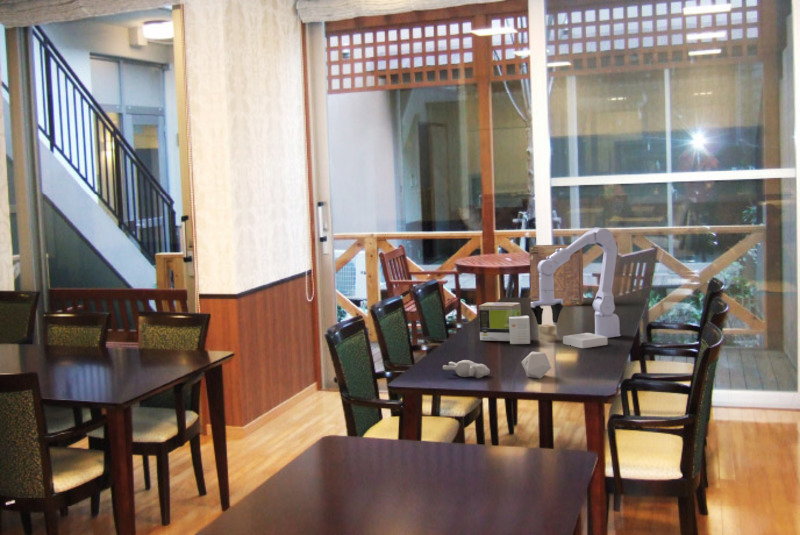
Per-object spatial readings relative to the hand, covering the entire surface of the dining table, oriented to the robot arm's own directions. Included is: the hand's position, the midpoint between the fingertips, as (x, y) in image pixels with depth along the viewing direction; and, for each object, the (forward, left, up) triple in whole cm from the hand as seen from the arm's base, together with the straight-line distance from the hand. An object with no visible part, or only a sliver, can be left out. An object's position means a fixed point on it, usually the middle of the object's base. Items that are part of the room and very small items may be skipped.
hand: (547, 323), depth 355 cm
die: (+41, +50, -7) cm, 65 cm away
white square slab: (-6, +16, -7) cm, 18 cm away
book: (-61, -76, -7) cm, 98 cm away
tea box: (+14, -13, -7) cm, 20 cm away
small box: (+12, -2, -7) cm, 14 cm away
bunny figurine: (+59, +35, -7) cm, 69 cm away
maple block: (0, 0, -7) cm, 7 cm away
